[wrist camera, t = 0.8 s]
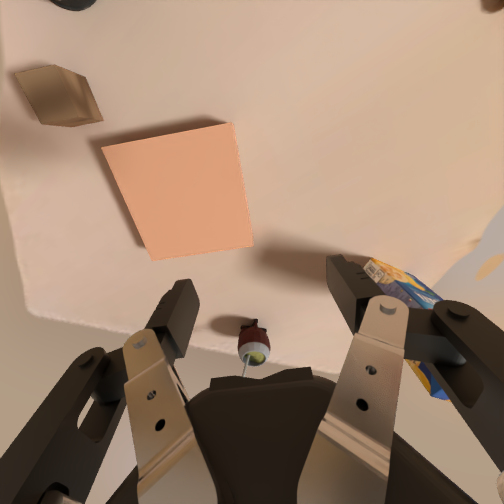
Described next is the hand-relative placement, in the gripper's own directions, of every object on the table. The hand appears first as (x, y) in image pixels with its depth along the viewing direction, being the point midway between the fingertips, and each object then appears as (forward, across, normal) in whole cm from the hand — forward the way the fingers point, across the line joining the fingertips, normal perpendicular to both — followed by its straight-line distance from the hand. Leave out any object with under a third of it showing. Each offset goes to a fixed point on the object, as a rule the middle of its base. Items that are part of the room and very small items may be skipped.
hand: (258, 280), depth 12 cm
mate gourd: (+25, +6, +32) cm, 41 cm away
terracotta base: (+25, +10, -1) cm, 27 cm away
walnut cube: (+26, +22, -16) cm, 37 cm away
